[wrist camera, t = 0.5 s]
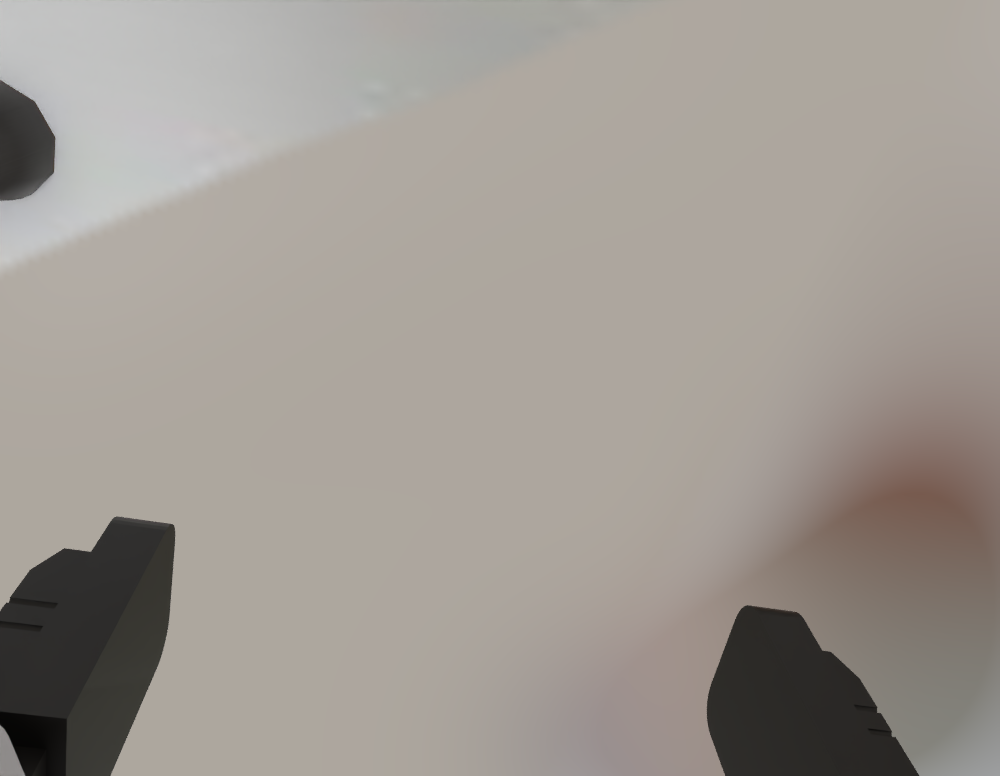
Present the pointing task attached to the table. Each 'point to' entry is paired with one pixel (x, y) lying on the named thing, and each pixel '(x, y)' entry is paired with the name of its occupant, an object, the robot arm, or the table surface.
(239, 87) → the table surface
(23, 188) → the wooden tabletop sculpture
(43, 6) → the table surface
